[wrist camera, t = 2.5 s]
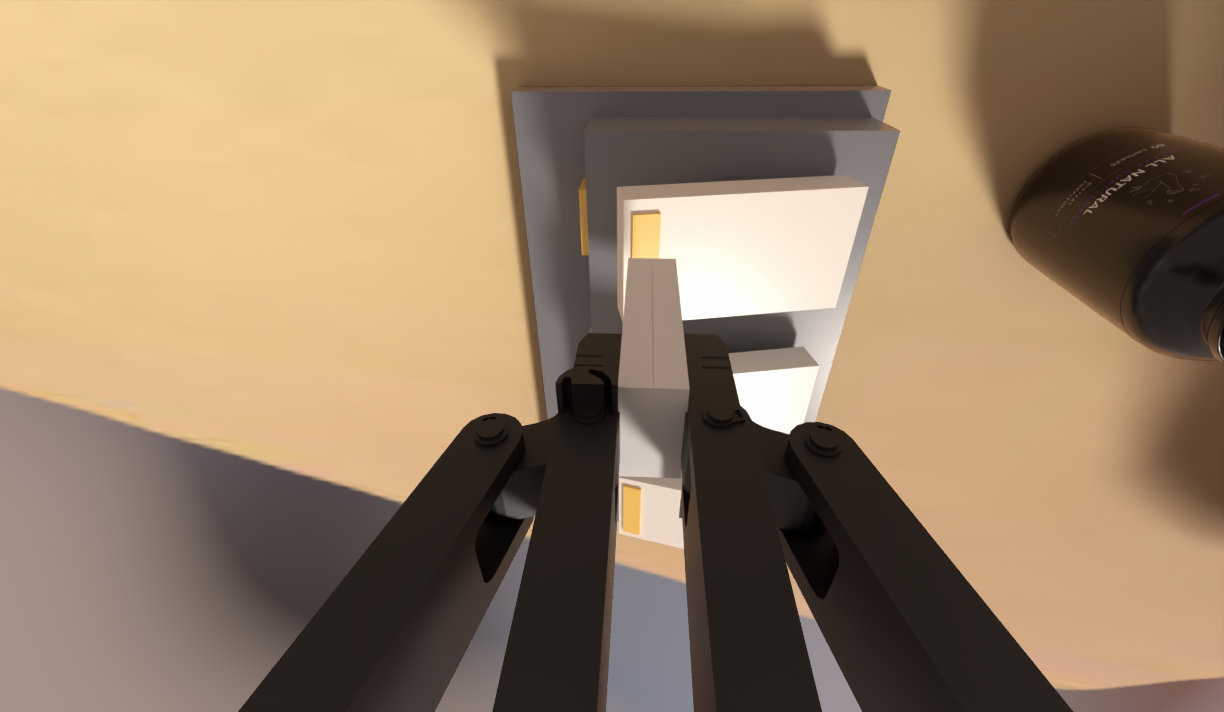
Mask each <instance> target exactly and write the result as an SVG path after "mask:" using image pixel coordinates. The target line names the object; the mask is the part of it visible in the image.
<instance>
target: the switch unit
mask: <svg viewBox="0 0 1224 712" xmlns="http://www.w3.org/2000/svg"><path fill="white" fill-rule="evenodd" d="M890 93H891V90H889V89H886V88H883V87H880V86H690V87H518V88H516V89H514V90H513V91H511V98H512V107H513V116H514V125H515V134H516V143H517V152H518V161H519V169H520V178H521V187H522V196H523V205H524V214H525V223H526V232H527V241H528V250H529V259H530V267H531V276H532V285H533V294H534V303H535V312H536V321H537V330H538V339H539V348H540V357H541V366H542V374H543V383H544V392H545V401H546V410H547V419H550V418H552V417H554V416H555V415H556V414H558V407H557V397H556V386H555V383H556V381H557V379H558V377H559V376H560V375H561V374H563V373H564V372H565V371H567V370H569V369H572V368H573V367H574V362H575V357H576V352H577V348H578V343H579V342H580V341H581V340H582V339H583V338H584V337H585V336H586V335H587V334H588V333H610V334H622V329H623V322H622V319H621V316H620V313H619V309H618V306H617V187H623V186H642V185H661V184H681V183H700V182H719V181H738V180H757V179H776V178H795V177H814V176H834V175H847V176H849V177H851V178H853V179H855V180H857V181H859V182H861V183H863V184H865V185H867V186H869V188H868V192H867V196H866V199H865V203H864V206H863V210H862V214H861V217H860V221H859V225H858V228H857V232H856V235H855V239H854V243H853V246H852V250H851V253H850V257H849V261H848V264H847V268H846V272H845V275H844V279H843V282H842V286H841V290H840V293H839V297H838V301H837V304H836V308H826V309H814V310H802V311H790V312H777V313H765V314H753V315H741V316H729V317H717V318H705V319H693V320H682V322H683V332H684V334H710V335H717V336H718V337H719V338H720V339H721V340H722V341H723V342H724V343H725V344H726V345H727V349H728V353H737V352H748V351H759V350H770V349H781V348H792V347H804V348H805V349H806V350H807V351H808V352H809V354H810V355H811V356H812V357H813V359H814V360H815V361H816V362H817V363H818V365H819V369H818V373H817V377H816V380H815V384H814V387H813V391H812V395H811V398H810V402H809V405H808V409H807V413H806V416H805V420H804V423H805V422H815V420H816V417H817V413H818V410H819V406H820V403H821V400H822V396H823V393H824V389H825V386H826V382H827V379H828V376H829V372H830V369H831V365H832V362H833V359H834V355H835V352H836V348H837V345H838V341H839V338H840V335H841V331H842V328H843V324H844V321H845V318H846V314H847V311H848V307H849V304H850V300H851V297H852V294H853V290H854V287H855V283H856V280H857V277H858V273H859V270H860V266H861V263H862V260H863V256H864V253H865V249H866V246H867V242H868V239H869V236H870V232H871V229H872V225H873V222H874V219H875V215H876V212H877V208H878V205H879V201H880V198H881V195H882V191H883V188H884V184H885V181H886V178H887V174H888V171H889V167H890V164H891V161H892V157H893V154H894V150H895V147H896V143H897V140H898V137H899V133H900V130H898V129H896V128H893V127H891V126H889V125H887V124H885V123H883V119H884V115H885V111H886V108H887V104H888V100H889V97H890ZM617 521H619V496H618V513H617Z"/></svg>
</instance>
